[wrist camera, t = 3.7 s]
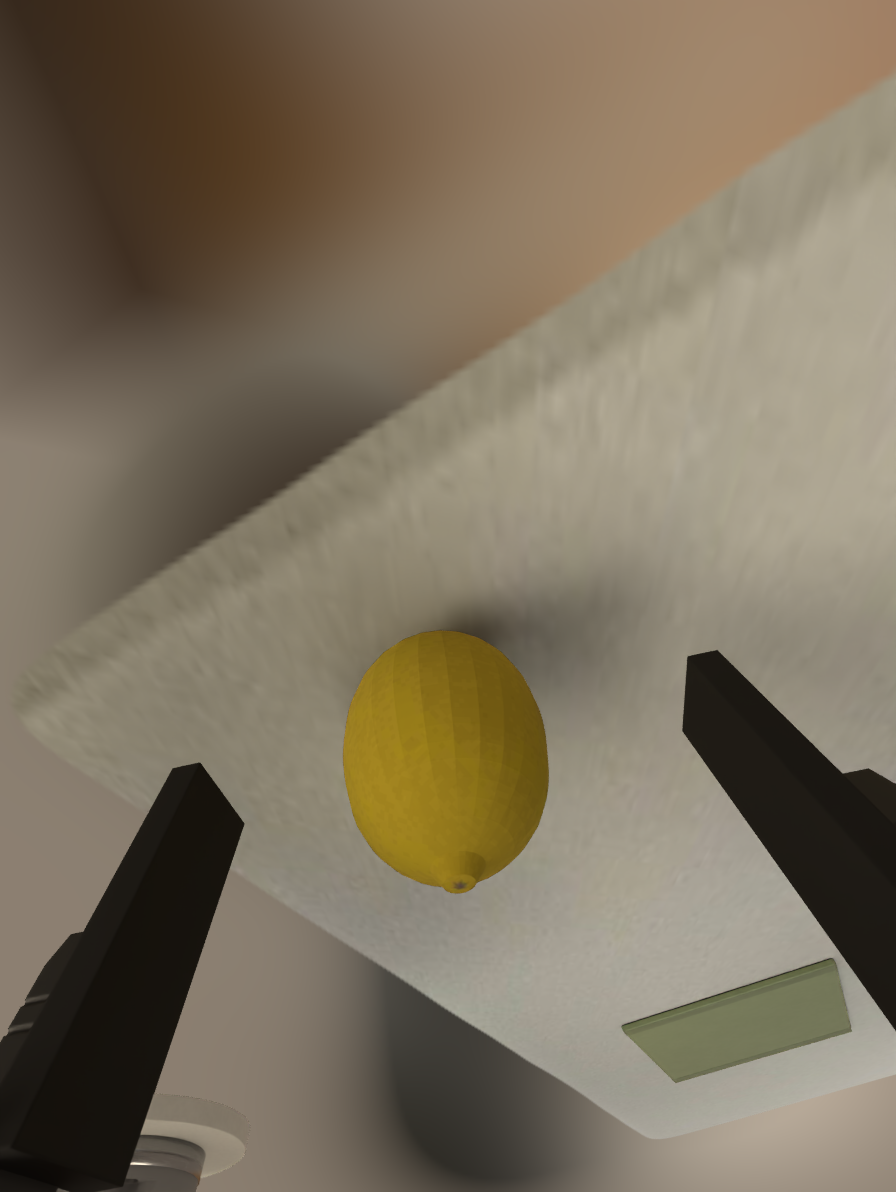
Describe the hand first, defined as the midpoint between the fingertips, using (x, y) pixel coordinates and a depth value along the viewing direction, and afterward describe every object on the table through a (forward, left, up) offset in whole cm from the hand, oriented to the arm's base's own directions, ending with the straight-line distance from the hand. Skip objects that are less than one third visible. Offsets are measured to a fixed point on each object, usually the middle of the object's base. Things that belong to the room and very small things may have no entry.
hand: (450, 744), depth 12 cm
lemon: (0, 0, -5) cm, 5 cm away
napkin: (+16, -44, -4) cm, 47 cm away
